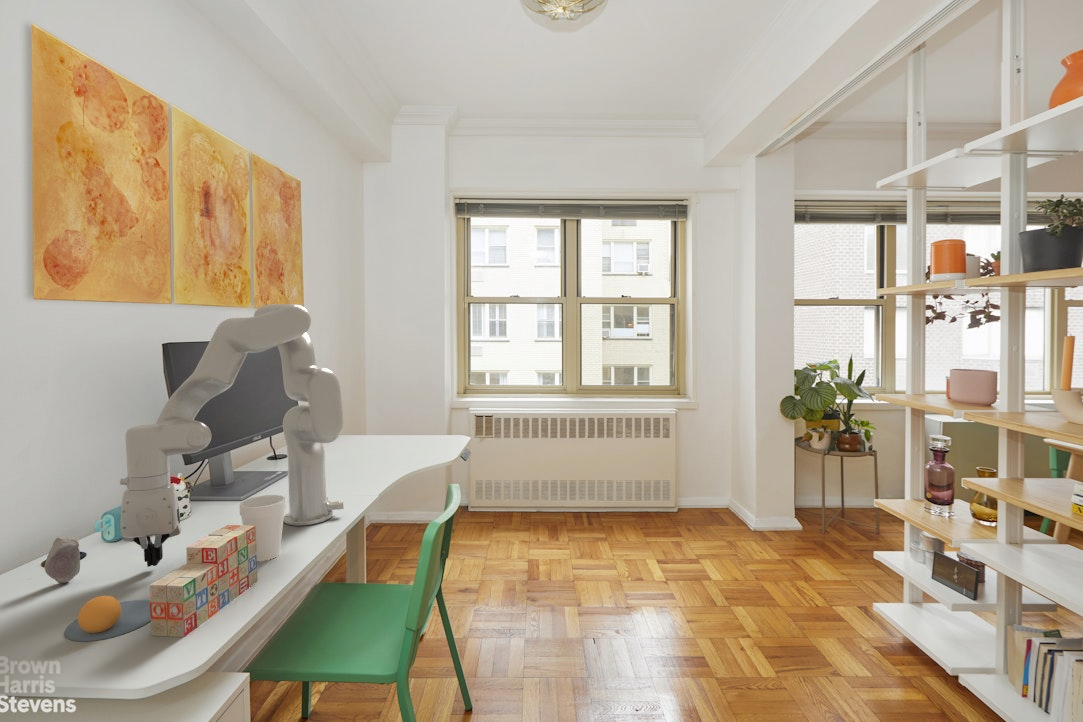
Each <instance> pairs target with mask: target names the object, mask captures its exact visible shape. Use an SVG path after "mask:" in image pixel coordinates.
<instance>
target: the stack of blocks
mask: <svg viewBox="0 0 1083 722" xmlns="http://www.w3.org/2000/svg"><path fill="white" fill-rule="evenodd" d="M185 549H186V563H185V564H183V565H181V566H180V567H179V568H176V569H174V570H172V571H171V572H169V573H168V574H165V575H164V576H163V577H161V578H159V579H158V580H155V581H153V582H152V583H150V584H149V600H150V601H151V602H150V618H151V622H150V630H151V636H154V637H173V638H184V637H186V636H187V635H189V634H190V633H191V632H192V631H193V630H195V629H196V628H198V627H200V626H201V625H202V624H204V623H205V622H207V620H208V619H210V618H212V617H213V616H214V615H215V614H217V613H218V612H220V610H221V609H223V608H225V606H227V605H229V604H230V603H231V602H233V601H234V600H235V599H236V598H238V597H239V596H240V595H242V594H243V593H245V592H246V591H247V590H249V587H250V588H251V587H252V586H254V585H255V584H256V583H258V582H257V581H258V580H259V579H258V562H257V555H256V554H257V545H256V528H255V526H250V525H243V524H242V525H239V524H238V525H237V524H234V525H233V524H227V525H226V526H224V527H221V528H220V529H216V530H214V531H213V532H211V533H209V534H208V535H205V536H204V537H202V538H200V539H199V540H197V541H195V542H194V543H192V544H190V545H188V546H186V547H185ZM254 583H255V584H254ZM253 584H254V585H253ZM245 590H246V591H245Z"/></svg>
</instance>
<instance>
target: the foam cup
mask: <svg viewBox="0 0 1083 722" xmlns="http://www.w3.org/2000/svg"><path fill="white" fill-rule="evenodd" d="M285 509H286V497H285V496H283V495H277V494H267V495H258V496H253V497H250V498H247V499H245V500H243V501H241V502H240V504H239V516H240V517H241V522H242V525H250V526H255V528H256V545H257V554H256V555H257V561H259V562H266V561H265V560H267V561H271V560H274V559H275V557H276V558H277V557H279V556H280V553H281V548H282V547H281V546H282V537H283V529H284V527H283V526H284V516H285ZM278 555H279V556H278ZM273 558H274V559H273ZM270 559H271V560H270Z"/></svg>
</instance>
